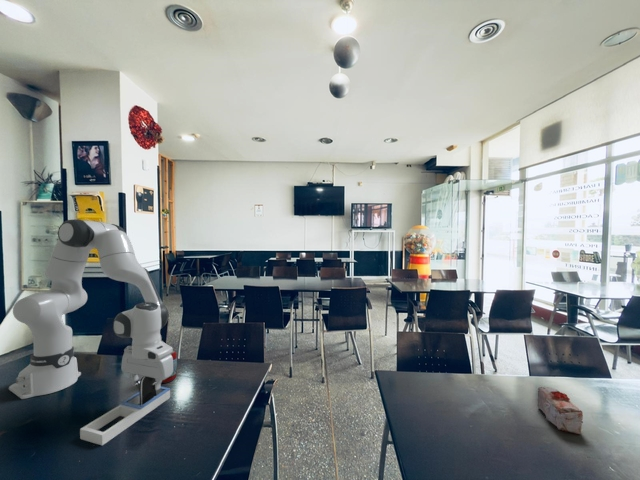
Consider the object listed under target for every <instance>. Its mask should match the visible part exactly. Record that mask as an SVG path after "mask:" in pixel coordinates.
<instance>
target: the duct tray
mask: <svg viewBox="0 0 640 480" xmlns="http://www.w3.org/2000/svg"><path fill="white" fill-rule="evenodd" d="M156 394H157V396H155V397H154V398H152V399H151V400H149V401H148V402H146V403H144V404H143V405H140V391H138V392H137V393H135V394H133V395H131V396H130V397H129V398H127V399H125V400H123V401H122V402H120V403H119V405H117V406H115V407H114V408H112V409H111V410H109V411H107V412H106V413H104V414H103V415H101V416H99V417H97V418H96V419H94V420H93V421H91V422H89V423H88V424H86V425H84V426H83V427H81V428H79V436H80V437H79V439H80V440H82V441H85V442H90V443H93V444H96V445H100V446H105V444H107V443H108V442H110V441H111V440H112V439H113V438H115V437H117V436H118V435H119V434H121V433H122V432H123V431H125V430H126V429H128V428H129V427H131V426H132V425H134V424H135V423H136V422H138V421H139V420H141V419H142V418H144V417H145V416H146V415H148V414H149V413H151V412H152V411H153V410H155V409H156V408H158V407H159V406H161V405H162V404H163V403H164V402H166V401H168V400H169V399H170V398H171V388H170V387H165V386H161V387H160V389H158V390H156ZM119 417H123V419H121V420H119V421H118V422H117V423H115V424H113V425H112V426H111V427H109V428H107V429H106V430H104V431H101V430H100V429H102V428H103V427H104V426H106V425H108V424H109V423H110V422H112V421H115V419H117V418H119Z"/></svg>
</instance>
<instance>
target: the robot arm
mask: <svg viewBox="0 0 640 480" xmlns="http://www.w3.org/2000/svg"><path fill="white" fill-rule="evenodd" d="M57 230H58V231H57V238H58V240H57V241H56V243H55V245H54V246H53V249H52V252H51V254H50V257H49V260H48V262H47V266H46V268H45V271H44V274H45V277H46V278H48V279H49V280H50V281H51V286H50V288H49V290H45V291H41V292H35V293H31V294H30V295H27V296H25V297H22V298H21V299H19V300H17V301H16V302H15V304H14V305H13V308H12V314H13V317H14V318H15V319H16V320H17V321H18V322H20V323H22V324H25V325H26V326H27V327H28V328H29V330H30V332H31V334H32V339H33V340H32V342H33V343H32V344H33V353H32V354H30V361H29V364H28V365H27V366H26V367H25V368H23V369H22V370H21V371H19V373H18V376H17V377H16V378H15V383H12V384H11V385H9V387H8V390H9V391H10V392H12V393H13V394H14V395H16V396H17V397H18V398H19V399H21V400H26V399H30V398H33V397H38V396H44V395H45V396H46V395H48V394H52V393H56V392H59V391H61V390H64V389H66V388H69V387H71V386H72V385H74V384H75V383H76V382H77V381H78V378H79V377H80V376H81V375H82V372H81V371H79V370H78V360H77V357H75V347H74V346H73V329H72V327H71V326H69V325H67V324H65V323H64V321H63V318H62V317H63V315H66V314H68V313H72V312H74V311H77V310H79V308H81V307H83V306H84V305H85V304H86V303H87V301H88V293H87V292H86V290H85V289H84V288H83V285H82V284H83V282H82V281H83V275H84V271H85V268H86V265H87V262H88V259H89V256H90V253H91V251H92V250H93V249H94V250H95V249H96V250H97V253H98V255H97V256H98V259H99V265H100V268H101V270H102V273H103V274H104V275H105V276H106V277H107V278H109V279H111V280H114V281H118V282H124V283H128V284H130V285H131V284H132V285H134V286H135V287H137V288H138V290H139V291H140V293H141V296H142V298H143V300H144V302H141V303H137V304H136V305H134V307H133V308H131V309H128V310H124V311H122V312H119V313H118V314H117V315H116V316H115V318H114V319H113V322H112V331H113V334H114V335H116V336H117V337H120V338H122V339H129V338H132V340H131V341H132V342H131V345H127V346H126V347H125V348H124V349H123V351H124V352H123V355H122V358H121V359H122V360H121V371H122V373H125V374H129V377H130V379H131V381H132V386H135V387H136V386H137V387H138V386H140V380H141V378H140V377H139V376H141V377H143V376H146V377H151V378H155V381H157V382H156V384H154V385H153V387H154V388H153V389H154V390H158V389H160V387H162V386H161V385H162V383H163V382H162V380H165V379H166V378H168V377H170V376H171V375H172V373H173V357H172V355H171V353H172V352H173V349H174V348H173V347H172V346H171V345H169V344H167V343H165V342H164V341H163V340H162V335H161V329H163V328H164V327H165V326H166V324H167V323H168V320H169V317H170V313H169V310H168V309H167V307H166V305H165V303H164V302H163V300H162V298H161V296H160V293H159V292H158V290H157V287H156V285H155V282H154V280H153V278H152V275H151V274H150V272H149V271H148V269H146V267H143V266H142V265H141V263H139V262H138V261H139V260H138V259H137V257H136V255H135V251H134V248H133V245H132V242H131V239H130V238H129V235H128V234H127V233H126V231H125V229H124V228H123V227H121V226H119V225H117V224H114V223H108V222H104V221H98V220H95V221H94V220H83V219H80V218H79V219H77V218H76V219H67V220H65V221H63V222H62V223H61V225H60V226H59V227H58V229H57Z"/></svg>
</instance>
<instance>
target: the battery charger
mask: <svg viewBox="0 0 640 480" xmlns="http://www.w3.org/2000/svg"><path fill="white" fill-rule="evenodd" d="M156 382H157V381H155V378H151V377H146V376H141V378H140V384H139V392H140V403H139V405H143V404H144V403H146V402H148V401H149V400H151V399H152V398H154V397H155V396H157V394H156V390H154V389H153V388H154V387H153V385H154V384H156Z"/></svg>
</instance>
